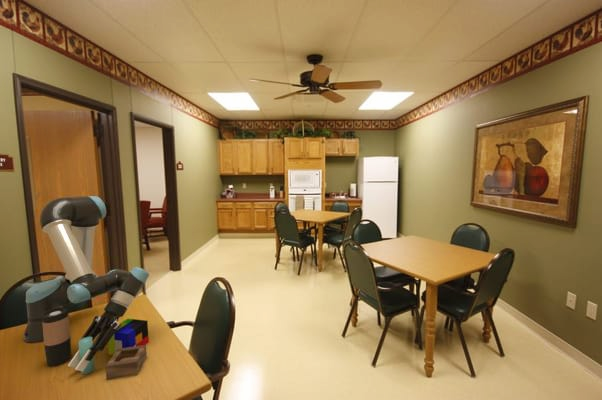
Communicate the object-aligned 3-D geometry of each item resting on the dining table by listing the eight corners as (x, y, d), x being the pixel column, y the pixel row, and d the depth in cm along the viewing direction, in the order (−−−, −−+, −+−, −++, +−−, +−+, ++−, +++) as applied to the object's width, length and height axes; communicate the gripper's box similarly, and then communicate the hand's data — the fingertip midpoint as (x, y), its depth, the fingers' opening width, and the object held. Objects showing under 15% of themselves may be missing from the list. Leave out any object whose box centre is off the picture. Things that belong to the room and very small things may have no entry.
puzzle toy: (129, 357, 107) (128, 333, 106) (108, 354, 109) (107, 331, 108) (148, 342, 116) (147, 320, 116) (129, 340, 118) (127, 318, 118)
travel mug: (42, 370, 100) (37, 319, 98) (50, 358, 107) (45, 310, 105) (68, 363, 104) (64, 314, 102) (74, 352, 110) (70, 305, 109)
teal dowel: (84, 367, 101) (82, 337, 100) (96, 365, 102) (94, 335, 101) (78, 375, 97) (76, 343, 96) (91, 373, 98) (88, 342, 97)
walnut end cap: (118, 361, 105) (117, 348, 104) (146, 356, 107) (146, 345, 106) (106, 379, 95) (105, 366, 94) (137, 374, 97) (136, 361, 97)
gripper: (139, 311, 109) (98, 377, 95) (113, 303, 116) (71, 364, 102) (125, 304, 103) (79, 373, 90) (99, 297, 110) (52, 360, 97)
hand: (75, 368), depth 96 cm, fingers closed on teal dowel, 4 cm apart
